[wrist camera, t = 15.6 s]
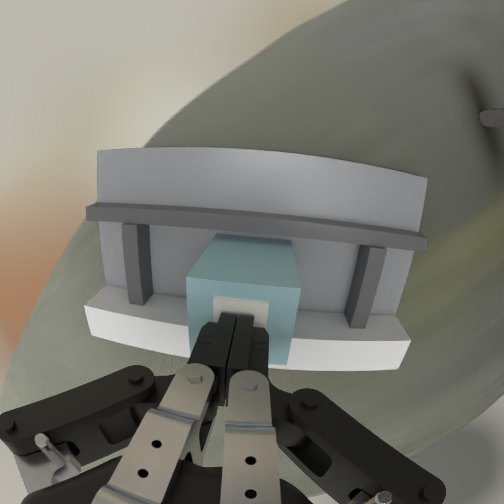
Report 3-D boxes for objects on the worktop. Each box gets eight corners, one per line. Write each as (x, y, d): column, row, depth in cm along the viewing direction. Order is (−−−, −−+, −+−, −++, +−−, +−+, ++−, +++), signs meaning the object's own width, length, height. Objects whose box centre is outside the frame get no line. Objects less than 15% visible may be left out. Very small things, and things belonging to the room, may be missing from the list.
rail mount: (420, 176, 17) (455, 184, 12) (373, 353, 22) (387, 388, 18) (106, 150, 18) (68, 152, 14) (120, 325, 23) (97, 355, 19)
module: (291, 240, 18) (301, 292, 11) (283, 299, 20) (286, 369, 13) (216, 233, 18) (184, 279, 11) (215, 292, 20) (188, 358, 13)
